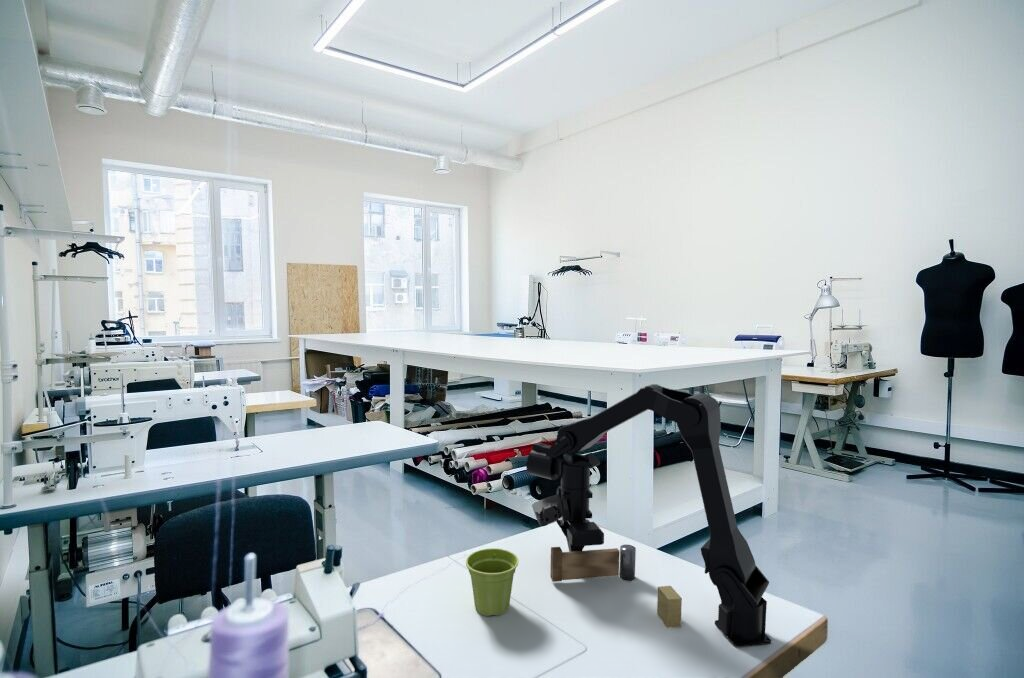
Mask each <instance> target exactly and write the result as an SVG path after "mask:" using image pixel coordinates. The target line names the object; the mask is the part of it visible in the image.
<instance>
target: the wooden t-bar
mask: <svg viewBox="0 0 1024 678" xmlns="http://www.w3.org/2000/svg"><path fill="white" fill-rule="evenodd" d="M549 571H550V574H549V575H550V579H551V582H552V583H553V582H554V583H555V582H562V581H569V580H570V581H571V580H582V579H584V580H585V579H593V578H604V577H618V576H619V573H620V549H619V548H617V547H616V548H602V549H588V550H582V551H573V552H569V551H563V550H562V548H561V546H552V547H550V570H549Z"/></svg>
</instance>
